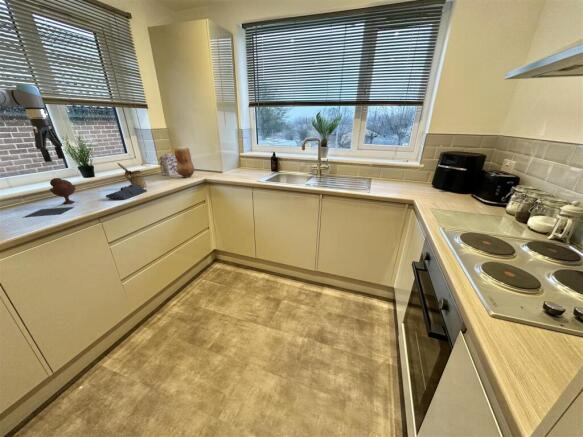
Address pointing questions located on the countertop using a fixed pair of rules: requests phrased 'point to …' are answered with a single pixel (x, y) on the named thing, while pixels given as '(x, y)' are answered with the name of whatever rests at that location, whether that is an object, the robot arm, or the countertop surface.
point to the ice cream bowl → (62, 189)
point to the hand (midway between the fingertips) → (55, 160)
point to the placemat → (49, 212)
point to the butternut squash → (184, 161)
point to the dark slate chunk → (127, 192)
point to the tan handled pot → (134, 177)
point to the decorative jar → (168, 164)
